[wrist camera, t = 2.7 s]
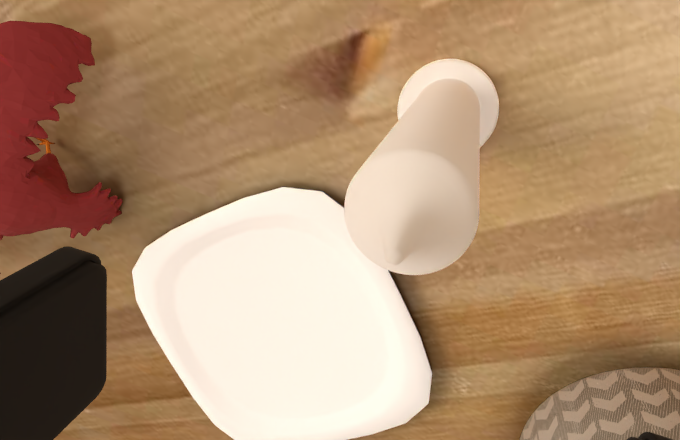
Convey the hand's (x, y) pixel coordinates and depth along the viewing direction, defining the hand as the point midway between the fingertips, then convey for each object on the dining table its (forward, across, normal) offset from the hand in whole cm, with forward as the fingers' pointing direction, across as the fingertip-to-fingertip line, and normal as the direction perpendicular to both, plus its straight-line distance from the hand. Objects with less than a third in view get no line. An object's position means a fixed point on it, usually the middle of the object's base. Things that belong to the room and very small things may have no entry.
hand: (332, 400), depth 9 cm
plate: (+31, +9, +22) cm, 39 cm away
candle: (+31, 0, 0) cm, 31 cm away
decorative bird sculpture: (+31, +32, +13) cm, 46 cm away
